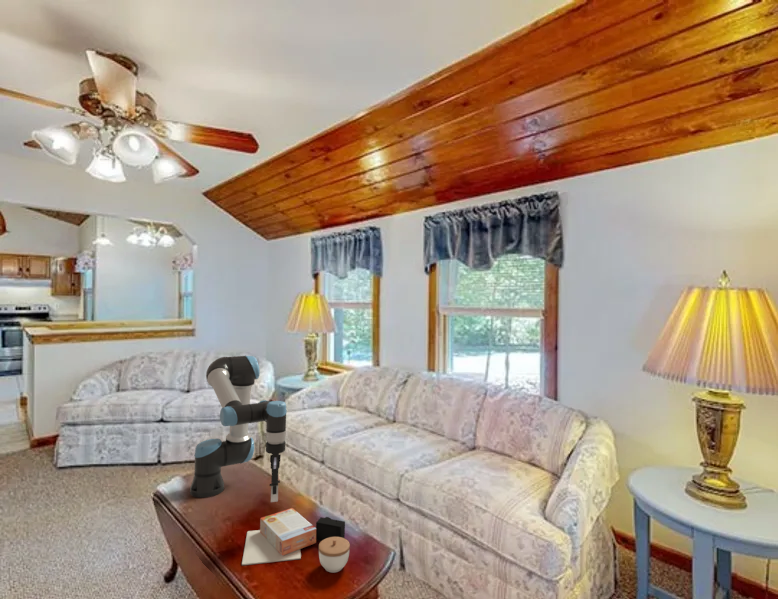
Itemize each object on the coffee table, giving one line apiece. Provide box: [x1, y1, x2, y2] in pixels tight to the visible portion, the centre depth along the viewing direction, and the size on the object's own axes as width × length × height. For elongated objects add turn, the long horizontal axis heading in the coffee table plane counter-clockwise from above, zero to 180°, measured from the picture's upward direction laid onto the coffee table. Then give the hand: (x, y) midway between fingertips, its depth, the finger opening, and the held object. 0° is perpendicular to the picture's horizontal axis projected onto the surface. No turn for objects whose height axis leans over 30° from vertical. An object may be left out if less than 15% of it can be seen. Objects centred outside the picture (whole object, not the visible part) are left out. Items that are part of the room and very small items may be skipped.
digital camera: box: [315, 516, 346, 542], centre depth 168 cm, size 10×5×7 cm, turn 74°
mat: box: [241, 529, 302, 566], centre depth 163 cm, size 22×20×1 cm
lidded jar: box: [318, 537, 351, 574], centre depth 150 cm, size 11×11×9 cm
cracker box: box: [259, 507, 317, 556], centre depth 167 cm, size 14×6×21 cm
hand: (274, 500), depth 171 cm, fingers closed
